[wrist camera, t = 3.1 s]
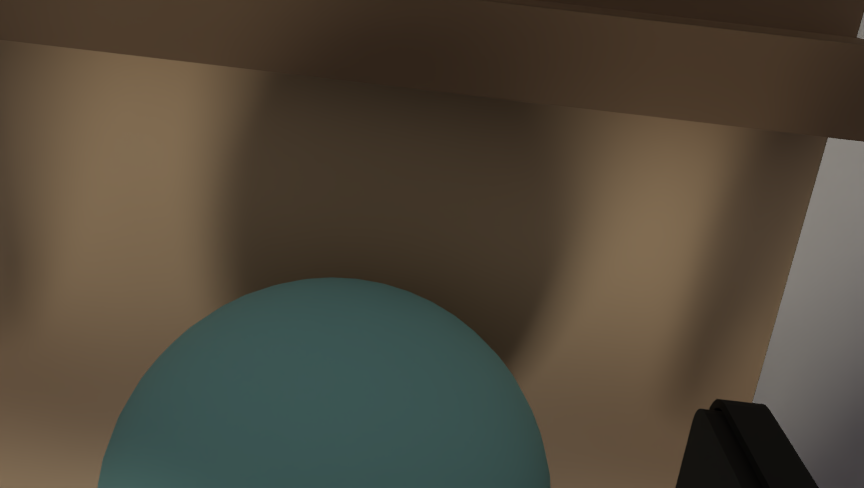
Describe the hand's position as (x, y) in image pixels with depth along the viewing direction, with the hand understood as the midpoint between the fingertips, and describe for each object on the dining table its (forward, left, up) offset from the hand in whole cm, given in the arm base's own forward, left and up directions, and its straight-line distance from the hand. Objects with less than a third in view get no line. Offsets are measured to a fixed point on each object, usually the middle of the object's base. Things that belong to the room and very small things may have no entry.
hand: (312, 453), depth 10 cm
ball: (0, 0, +1) cm, 1 cm away
